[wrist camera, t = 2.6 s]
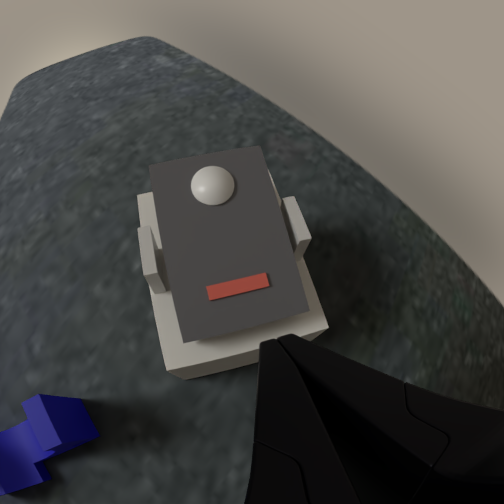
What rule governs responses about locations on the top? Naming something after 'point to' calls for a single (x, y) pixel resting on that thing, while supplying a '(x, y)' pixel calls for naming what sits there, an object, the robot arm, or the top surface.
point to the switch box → (234, 343)
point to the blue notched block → (41, 439)
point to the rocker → (224, 243)
